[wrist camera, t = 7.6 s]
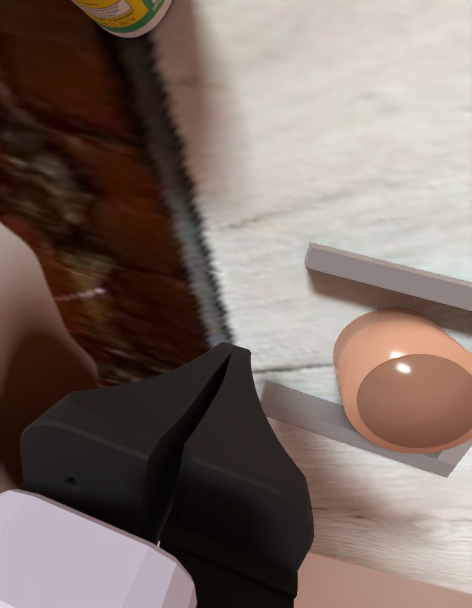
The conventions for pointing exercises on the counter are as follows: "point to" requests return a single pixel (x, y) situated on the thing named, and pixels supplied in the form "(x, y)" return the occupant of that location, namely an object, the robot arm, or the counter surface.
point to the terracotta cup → (404, 382)
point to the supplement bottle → (125, 15)
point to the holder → (332, 416)
